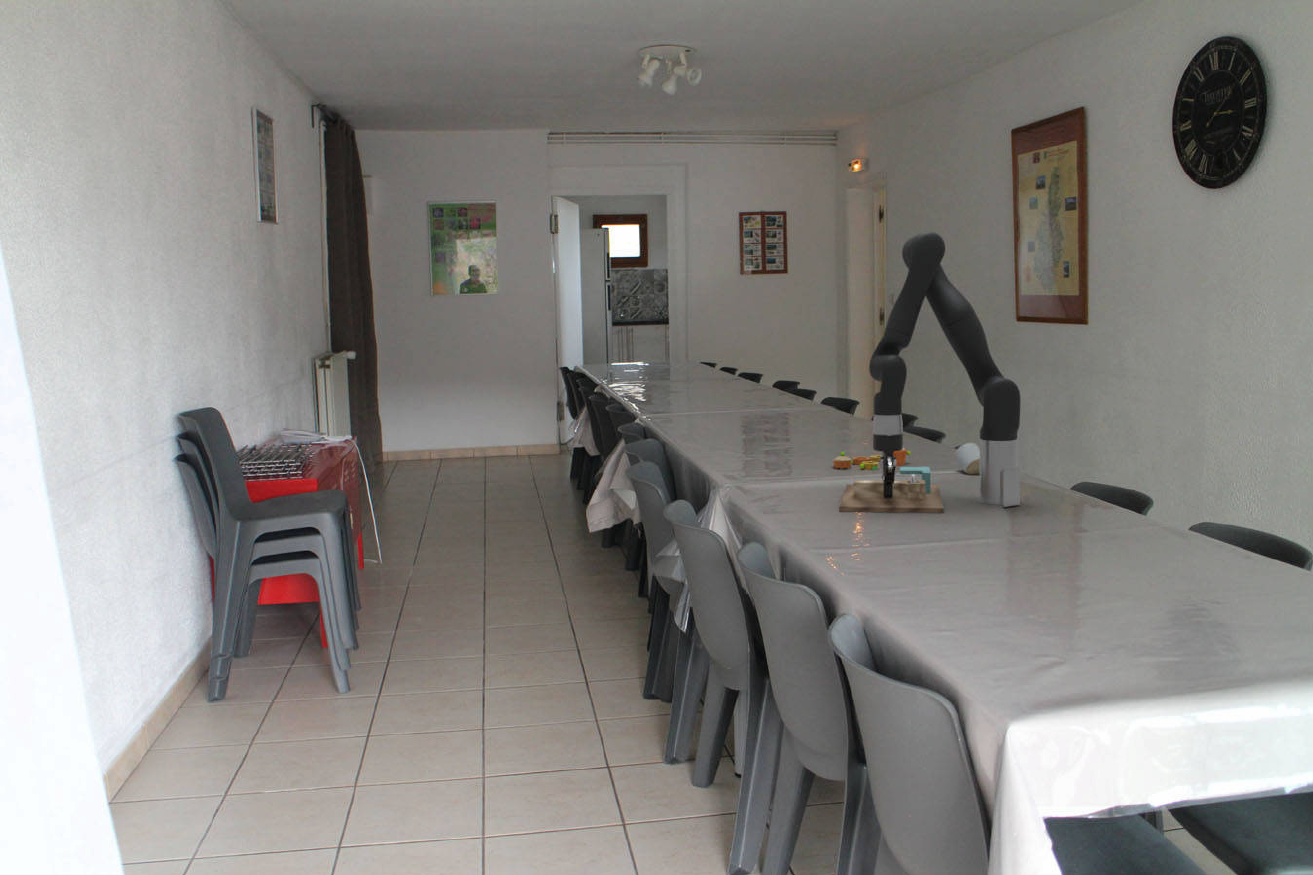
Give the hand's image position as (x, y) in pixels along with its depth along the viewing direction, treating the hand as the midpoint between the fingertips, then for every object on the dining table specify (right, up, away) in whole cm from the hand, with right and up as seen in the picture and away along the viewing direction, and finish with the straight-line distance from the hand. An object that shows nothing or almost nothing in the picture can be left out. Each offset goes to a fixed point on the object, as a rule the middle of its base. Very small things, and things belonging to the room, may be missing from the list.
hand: (888, 498), depth 268 cm
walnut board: (+3, -1, +9) cm, 10 cm away
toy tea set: (+9, +5, +64) cm, 65 cm away
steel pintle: (+8, 0, +6) cm, 10 cm away
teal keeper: (+11, +1, +17) cm, 20 cm away
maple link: (+2, 0, +7) cm, 7 cm away
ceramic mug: (+38, +4, +47) cm, 61 cm away
